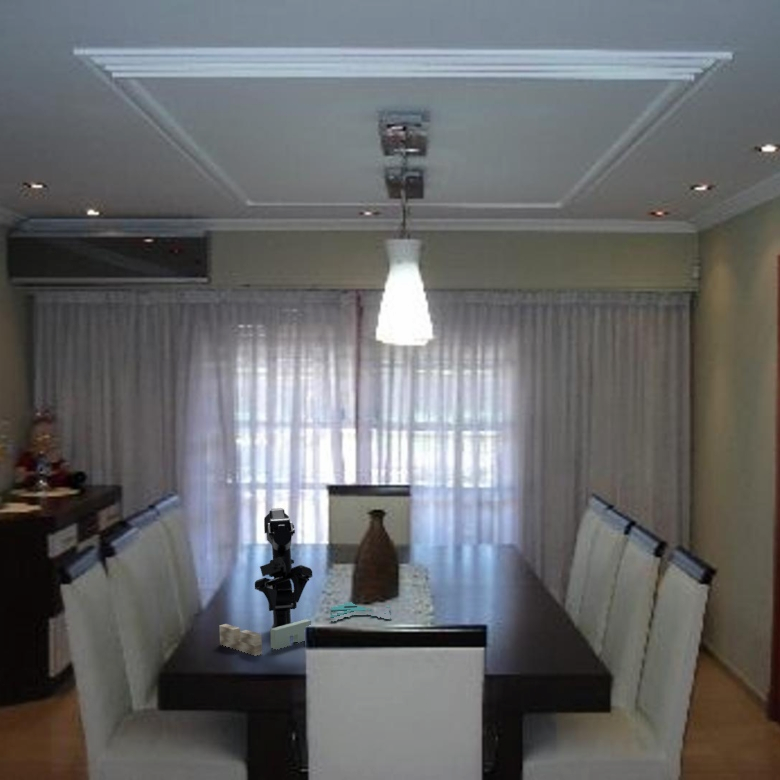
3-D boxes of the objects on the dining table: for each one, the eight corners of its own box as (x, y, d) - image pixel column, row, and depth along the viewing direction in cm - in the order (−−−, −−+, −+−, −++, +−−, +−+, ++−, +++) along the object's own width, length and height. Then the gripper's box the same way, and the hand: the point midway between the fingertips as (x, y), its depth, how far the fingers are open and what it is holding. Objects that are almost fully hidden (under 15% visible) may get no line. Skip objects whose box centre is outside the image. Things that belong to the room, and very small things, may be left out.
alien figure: (390, 621, 322) (388, 606, 342) (390, 614, 322) (388, 599, 342) (330, 623, 321) (332, 608, 341) (330, 616, 321) (331, 602, 341)
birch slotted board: (220, 644, 299) (219, 625, 299) (226, 643, 301) (225, 623, 300) (255, 656, 286) (254, 635, 286) (262, 654, 288) (261, 634, 288)
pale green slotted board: (275, 650, 292) (275, 630, 291) (270, 648, 293) (270, 628, 293) (311, 639, 301) (310, 620, 301) (306, 638, 303) (305, 619, 303)
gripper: (241, 559, 300) (243, 609, 292) (288, 542, 291) (292, 593, 284) (265, 567, 308) (267, 615, 300) (311, 550, 300) (315, 600, 292)
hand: (284, 606), depth 294 cm, fingers open, 9 cm apart
